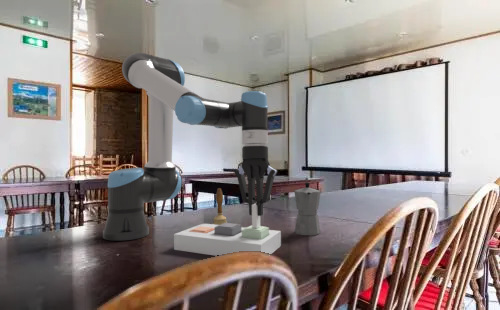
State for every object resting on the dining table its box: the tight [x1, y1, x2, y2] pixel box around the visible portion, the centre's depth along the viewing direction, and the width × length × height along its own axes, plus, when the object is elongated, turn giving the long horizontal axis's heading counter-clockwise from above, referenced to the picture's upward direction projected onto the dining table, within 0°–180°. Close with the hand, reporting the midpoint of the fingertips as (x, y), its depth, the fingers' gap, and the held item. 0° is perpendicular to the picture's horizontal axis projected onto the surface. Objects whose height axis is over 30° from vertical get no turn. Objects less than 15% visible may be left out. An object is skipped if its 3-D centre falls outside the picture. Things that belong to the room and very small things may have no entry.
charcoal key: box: [215, 222, 242, 236], centre depth 96 cm, size 6×6×3 cm
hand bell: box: [212, 187, 228, 225], centre depth 115 cm, size 8×8×16 cm
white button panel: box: [173, 223, 282, 257], centre depth 96 cm, size 28×16×5 cm, turn 66°
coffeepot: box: [293, 182, 322, 236], centre depth 115 cm, size 15×9×18 cm, turn 174°
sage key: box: [242, 224, 270, 240], centre depth 92 cm, size 6×6×3 cm
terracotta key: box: [190, 226, 215, 233], centre depth 99 cm, size 6×6×3 cm
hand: (256, 226), depth 92 cm, fingers closed
